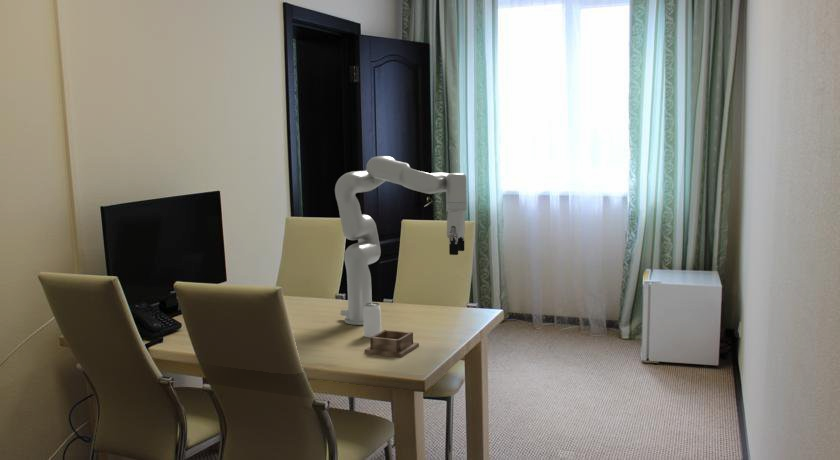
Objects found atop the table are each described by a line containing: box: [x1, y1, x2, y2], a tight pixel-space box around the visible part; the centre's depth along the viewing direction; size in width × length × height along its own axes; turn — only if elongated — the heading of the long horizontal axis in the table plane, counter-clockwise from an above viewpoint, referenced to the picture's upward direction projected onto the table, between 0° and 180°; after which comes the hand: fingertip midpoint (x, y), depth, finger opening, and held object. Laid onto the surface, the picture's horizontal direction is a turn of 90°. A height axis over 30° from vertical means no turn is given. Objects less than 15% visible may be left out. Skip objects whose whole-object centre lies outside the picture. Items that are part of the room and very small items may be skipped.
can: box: [363, 302, 382, 339], centre depth 273 cm, size 6×6×12 cm
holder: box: [364, 329, 420, 358], centre depth 255 cm, size 14×14×5 cm
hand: (457, 252), depth 274 cm, fingers open, 9 cm apart
